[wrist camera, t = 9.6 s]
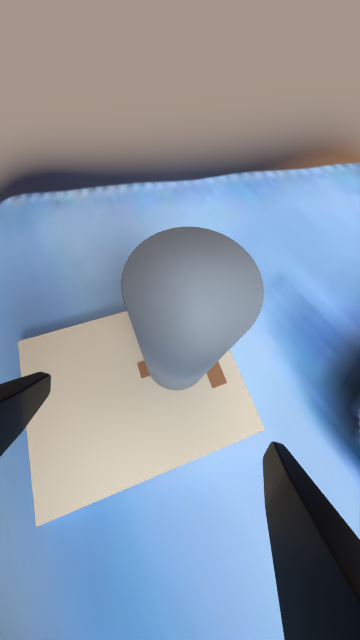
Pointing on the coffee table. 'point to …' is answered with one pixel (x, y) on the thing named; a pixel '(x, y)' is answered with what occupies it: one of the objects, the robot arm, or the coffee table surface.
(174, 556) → the coffee table surface
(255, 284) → the grey rounded cylinder
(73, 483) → the board
